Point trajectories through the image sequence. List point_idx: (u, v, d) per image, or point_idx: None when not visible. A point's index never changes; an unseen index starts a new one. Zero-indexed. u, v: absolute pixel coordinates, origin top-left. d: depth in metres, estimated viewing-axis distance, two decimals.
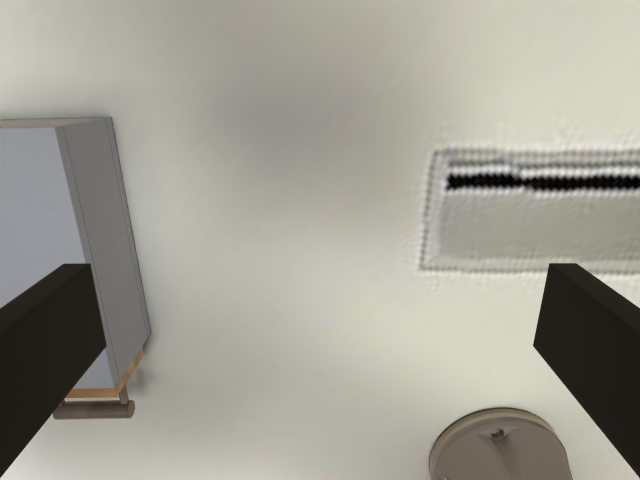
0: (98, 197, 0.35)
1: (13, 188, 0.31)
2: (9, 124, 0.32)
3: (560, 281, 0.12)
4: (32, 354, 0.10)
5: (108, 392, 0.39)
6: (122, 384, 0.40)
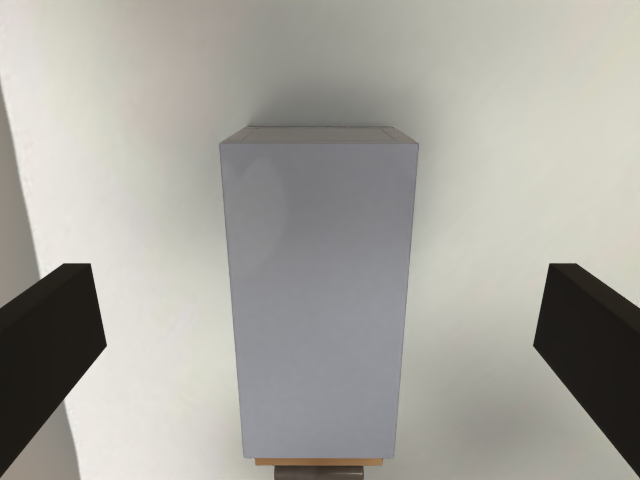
0: None
1: (342, 218, 0.24)
2: (322, 136, 0.26)
3: (560, 281, 0.12)
4: (32, 354, 0.10)
5: (374, 460, 0.32)
6: None
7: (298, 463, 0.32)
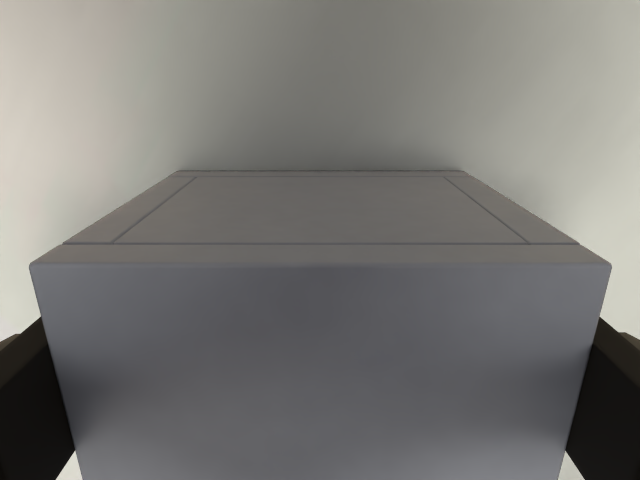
0: None
1: (382, 444, 0.09)
2: (327, 215, 0.11)
3: None
4: None
5: None
6: None
7: None
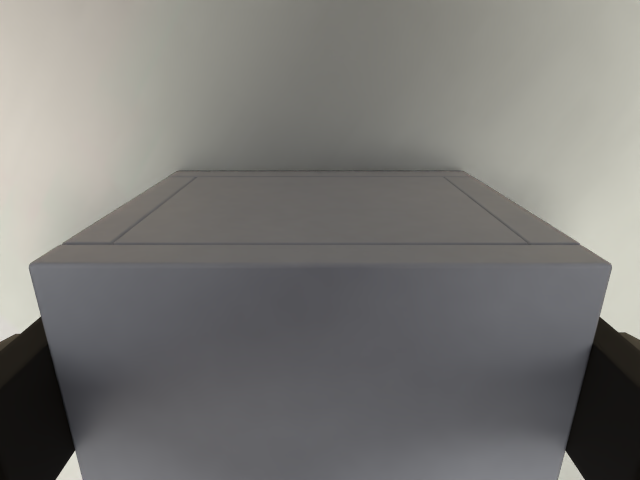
0: None
1: (382, 444, 0.09)
2: (327, 215, 0.11)
3: None
4: None
5: None
6: None
7: None
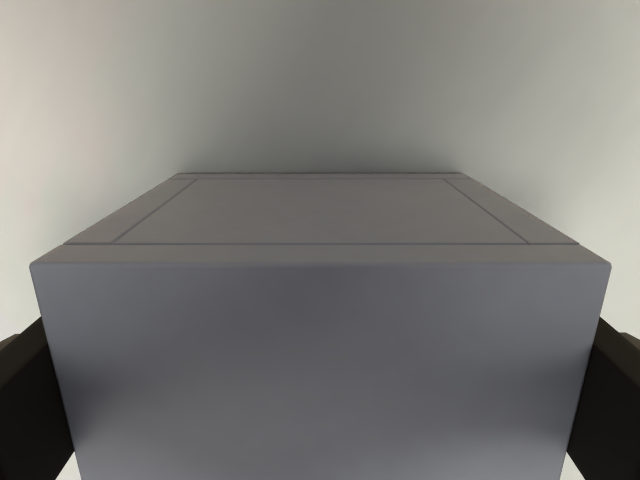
0: None
1: (382, 445, 0.09)
2: (327, 216, 0.11)
3: None
4: None
5: None
6: None
7: None
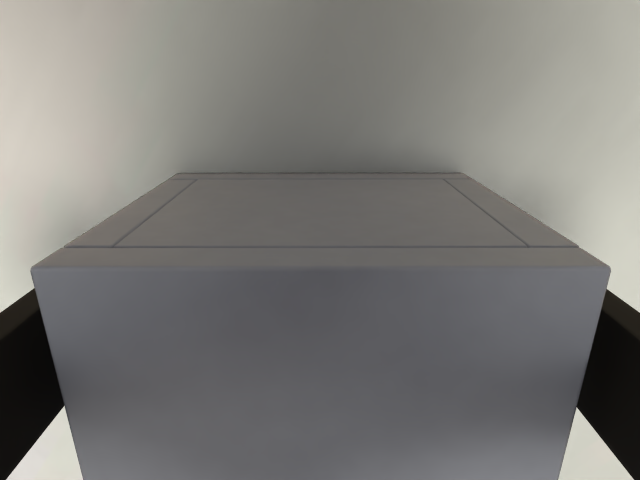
0: None
1: (382, 447, 0.09)
2: (327, 218, 0.11)
3: None
4: (41, 351, 0.10)
5: None
6: None
7: None
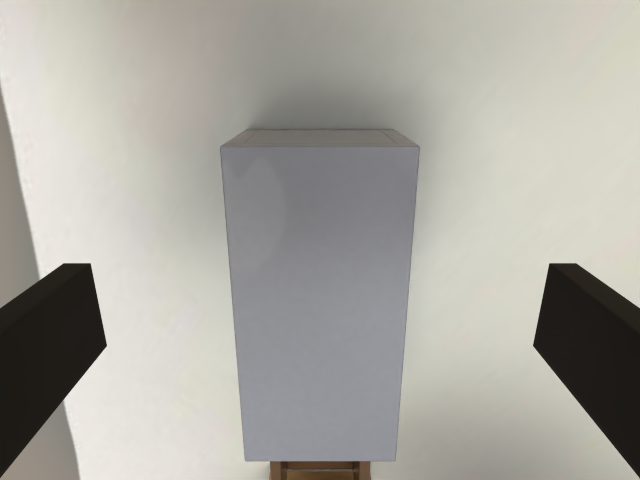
0: None
1: (343, 222, 0.24)
2: (322, 139, 0.26)
3: (560, 281, 0.12)
4: (32, 354, 0.10)
5: None
6: None
7: None
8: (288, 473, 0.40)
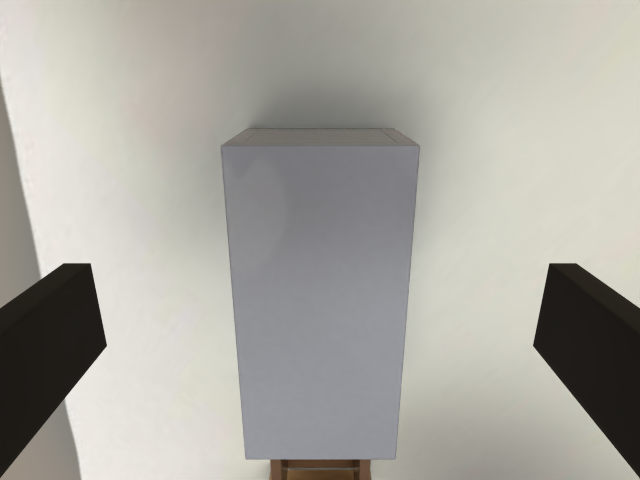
0: None
1: (343, 220, 0.24)
2: (323, 138, 0.26)
3: (560, 281, 0.12)
4: (32, 354, 0.10)
5: None
6: None
7: None
8: (288, 471, 0.41)
